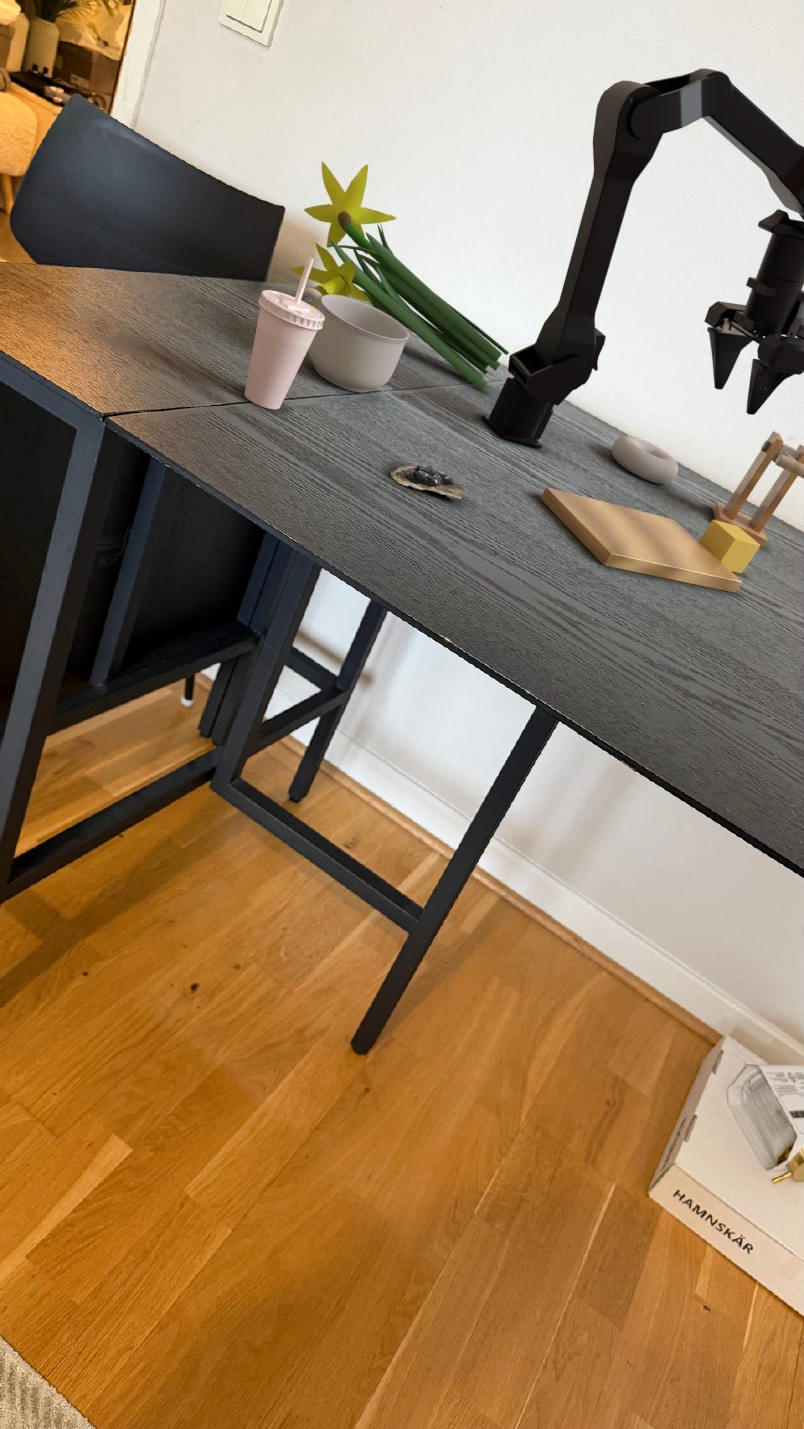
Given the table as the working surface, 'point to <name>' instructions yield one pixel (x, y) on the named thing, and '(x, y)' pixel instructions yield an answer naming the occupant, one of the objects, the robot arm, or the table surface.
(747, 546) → the yellow cube
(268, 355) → the smoothie
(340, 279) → the daffodil flowers
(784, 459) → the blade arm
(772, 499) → the wooden dowel stand
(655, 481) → the donut
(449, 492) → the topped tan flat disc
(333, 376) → the teacup
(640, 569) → the cutting board
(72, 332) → the table surface
